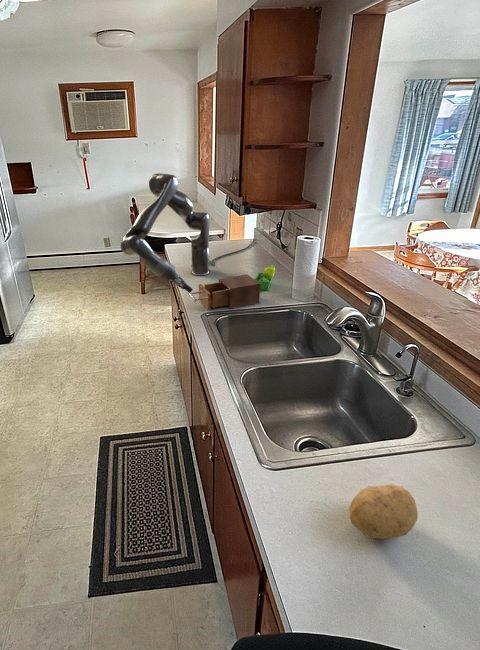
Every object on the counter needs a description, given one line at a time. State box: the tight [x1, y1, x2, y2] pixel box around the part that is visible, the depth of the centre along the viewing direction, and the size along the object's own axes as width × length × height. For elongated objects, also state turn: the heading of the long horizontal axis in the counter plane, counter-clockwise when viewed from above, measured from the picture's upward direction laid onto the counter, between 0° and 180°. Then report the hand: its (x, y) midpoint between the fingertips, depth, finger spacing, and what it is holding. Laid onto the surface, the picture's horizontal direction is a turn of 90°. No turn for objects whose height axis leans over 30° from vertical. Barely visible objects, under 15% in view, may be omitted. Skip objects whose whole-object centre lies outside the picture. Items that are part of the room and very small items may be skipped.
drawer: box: [187, 281, 229, 311], centre depth 174 cm, size 19×11×8 cm, turn 108°
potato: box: [348, 483, 419, 539], centre depth 78 cm, size 10×14×8 cm
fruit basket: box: [254, 264, 276, 291], centre depth 190 cm, size 11×9×11 cm
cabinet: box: [218, 273, 261, 309], centre depth 178 cm, size 15×13×10 cm
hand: (190, 290), depth 170 cm, fingers closed
